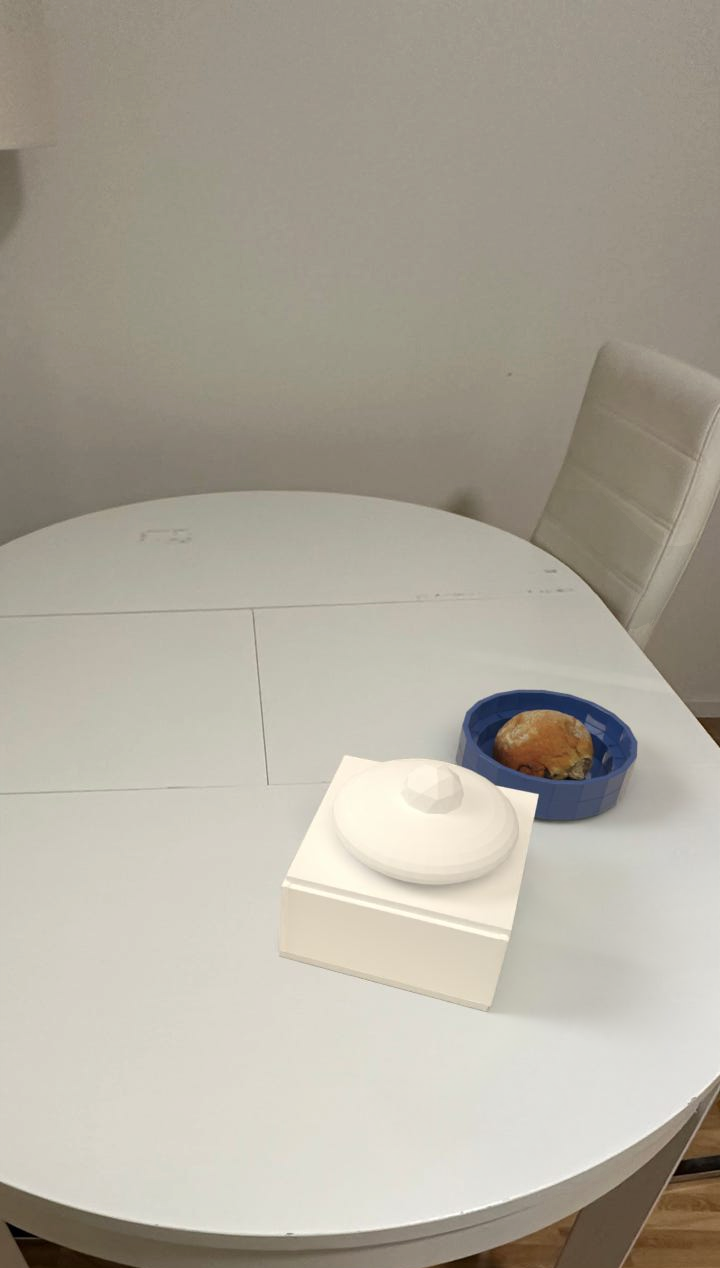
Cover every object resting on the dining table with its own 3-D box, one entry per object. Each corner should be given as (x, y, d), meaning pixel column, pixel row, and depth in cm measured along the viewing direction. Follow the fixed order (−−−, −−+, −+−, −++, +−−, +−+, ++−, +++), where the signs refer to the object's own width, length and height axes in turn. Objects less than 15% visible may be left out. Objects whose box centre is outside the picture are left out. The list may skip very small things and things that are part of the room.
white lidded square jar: (278, 956, 77) (284, 808, 66) (336, 828, 89) (348, 687, 79) (489, 1013, 72) (530, 863, 62) (518, 869, 85) (556, 725, 74)
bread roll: (572, 778, 101) (580, 705, 98) (605, 798, 91) (615, 717, 89) (482, 776, 101) (488, 704, 99) (505, 796, 91) (513, 715, 89)
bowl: (626, 744, 100) (639, 705, 97) (620, 839, 88) (635, 798, 85) (469, 716, 105) (476, 678, 101) (443, 803, 92) (450, 763, 89)
